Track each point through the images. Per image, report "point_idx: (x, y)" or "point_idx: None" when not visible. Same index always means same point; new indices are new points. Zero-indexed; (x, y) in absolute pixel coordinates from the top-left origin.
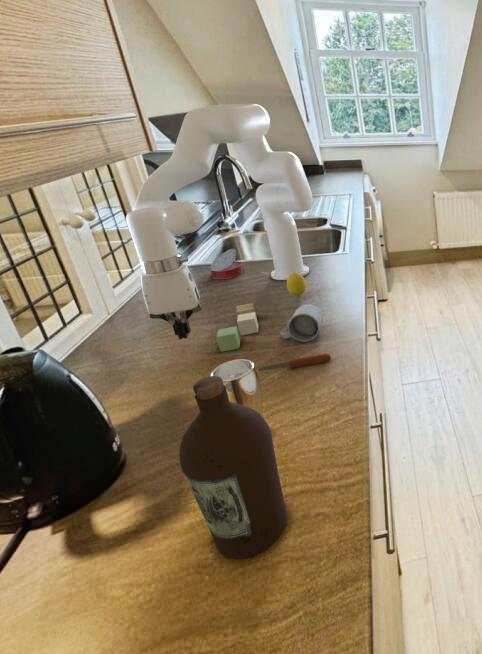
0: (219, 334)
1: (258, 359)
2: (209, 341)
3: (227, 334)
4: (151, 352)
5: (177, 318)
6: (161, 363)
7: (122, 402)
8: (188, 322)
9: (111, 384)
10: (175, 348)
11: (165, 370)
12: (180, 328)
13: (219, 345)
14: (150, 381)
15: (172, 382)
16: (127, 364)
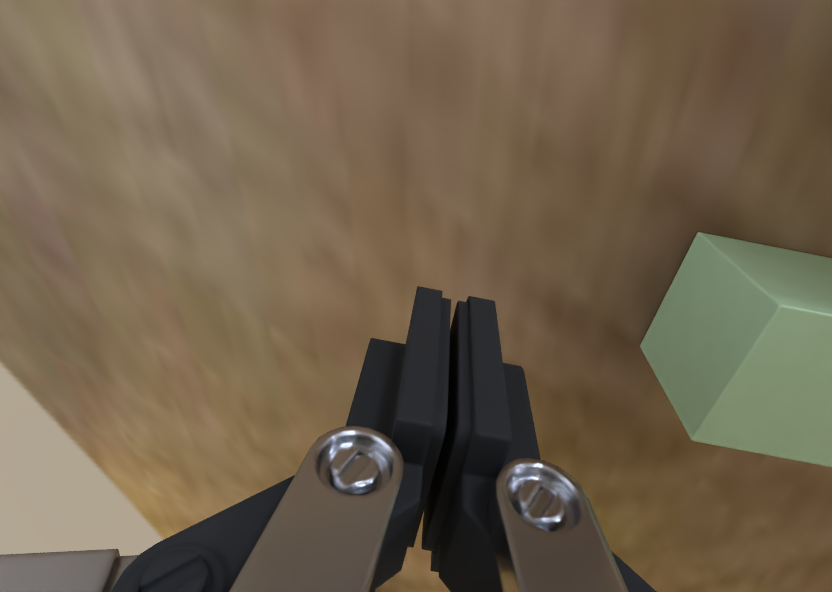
0: (734, 417)
1: (774, 529)
2: (623, 102)
3: (788, 452)
4: (131, 11)
5: (407, 524)
6: (264, 273)
7: (174, 514)
8: (535, 440)
9: (44, 354)
10: (333, 61)
11: (305, 372)
12: (426, 503)
13: (663, 383)
14: (248, 432)
15: None
16: (14, 141)
